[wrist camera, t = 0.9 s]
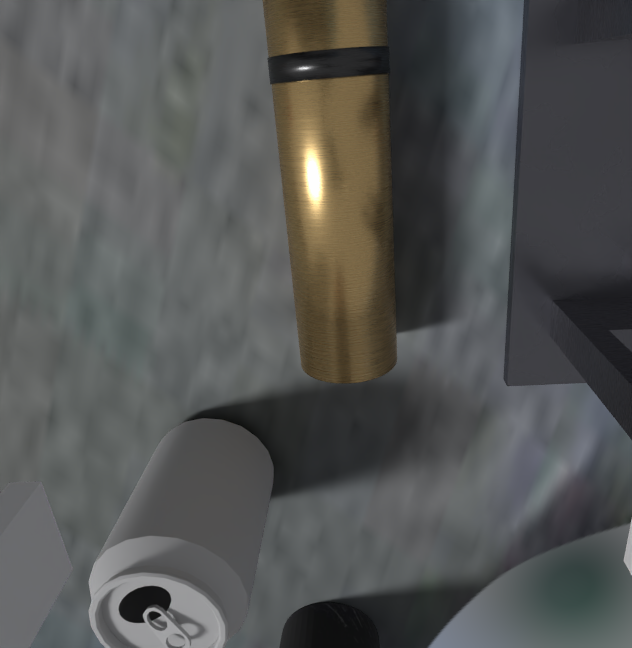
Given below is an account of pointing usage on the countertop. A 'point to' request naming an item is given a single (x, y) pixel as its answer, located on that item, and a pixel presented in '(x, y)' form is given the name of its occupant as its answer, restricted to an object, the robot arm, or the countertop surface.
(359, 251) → the tube
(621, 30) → the dark grey pronged rack
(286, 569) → the countertop surface
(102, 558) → the can
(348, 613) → the travel mug
